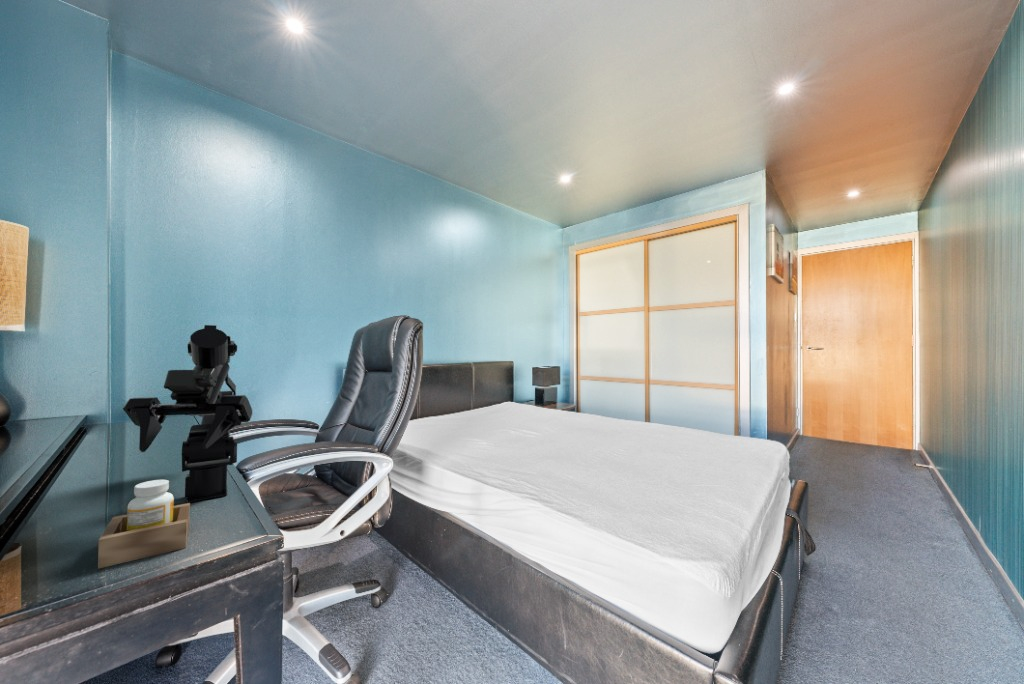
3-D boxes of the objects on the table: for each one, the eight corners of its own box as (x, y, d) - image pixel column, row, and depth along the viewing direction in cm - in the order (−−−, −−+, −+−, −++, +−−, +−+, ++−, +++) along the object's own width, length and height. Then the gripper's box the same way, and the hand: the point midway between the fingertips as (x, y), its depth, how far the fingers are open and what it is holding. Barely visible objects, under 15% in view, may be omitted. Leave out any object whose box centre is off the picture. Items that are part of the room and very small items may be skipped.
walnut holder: (189, 525, 66) (190, 502, 67) (185, 547, 59) (186, 521, 59) (112, 542, 61) (113, 516, 61) (97, 568, 53) (98, 539, 53)
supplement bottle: (150, 553, 57) (152, 489, 58) (115, 553, 57) (117, 489, 58) (181, 536, 63) (183, 478, 63) (149, 536, 63) (151, 477, 63)
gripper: (131, 354, 70) (81, 425, 59) (248, 354, 75) (222, 419, 64) (156, 392, 77) (115, 462, 66) (261, 390, 83) (239, 454, 72)
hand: (173, 449), depth 67 cm, fingers open, 9 cm apart
